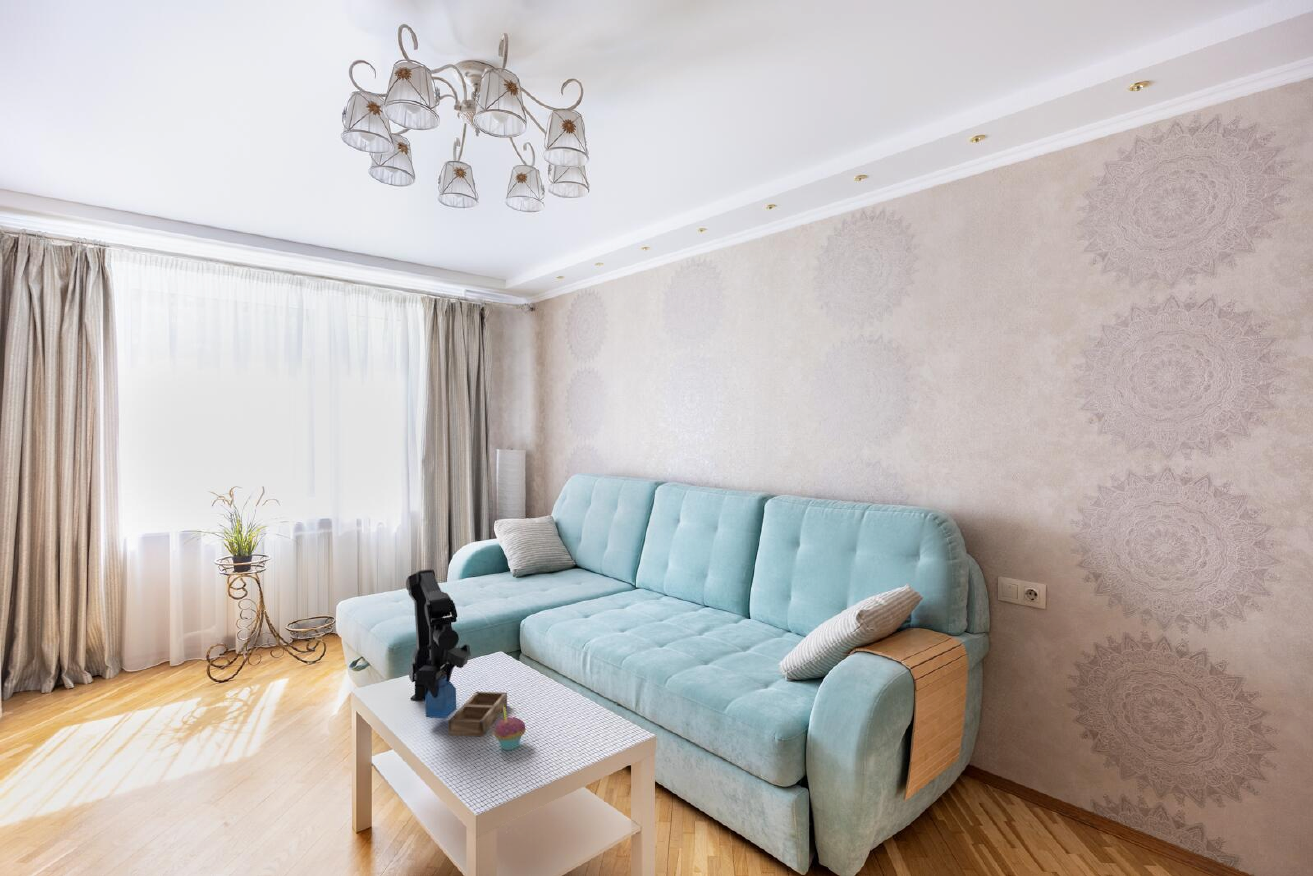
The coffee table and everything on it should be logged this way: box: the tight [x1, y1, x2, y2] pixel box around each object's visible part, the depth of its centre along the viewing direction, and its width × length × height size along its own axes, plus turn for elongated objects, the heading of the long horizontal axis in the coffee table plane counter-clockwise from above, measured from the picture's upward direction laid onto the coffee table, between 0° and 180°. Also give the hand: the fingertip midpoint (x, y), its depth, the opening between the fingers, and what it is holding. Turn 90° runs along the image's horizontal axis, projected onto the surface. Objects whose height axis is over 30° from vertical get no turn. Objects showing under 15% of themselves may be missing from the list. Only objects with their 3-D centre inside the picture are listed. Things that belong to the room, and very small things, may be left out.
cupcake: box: [493, 705, 527, 751], centre depth 167 cm, size 9×8×12 cm
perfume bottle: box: [424, 671, 457, 720], centre depth 180 cm, size 6×6×12 cm
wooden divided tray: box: [447, 691, 508, 737], centre depth 182 cm, size 20×10×4 cm, turn 173°
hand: (440, 692), depth 180 cm, fingers closed on perfume bottle, 6 cm apart
